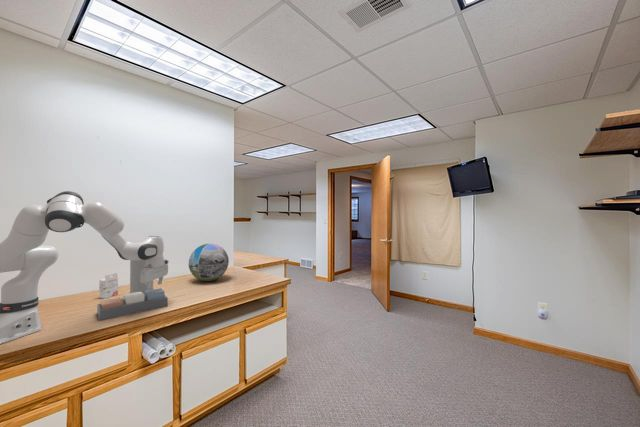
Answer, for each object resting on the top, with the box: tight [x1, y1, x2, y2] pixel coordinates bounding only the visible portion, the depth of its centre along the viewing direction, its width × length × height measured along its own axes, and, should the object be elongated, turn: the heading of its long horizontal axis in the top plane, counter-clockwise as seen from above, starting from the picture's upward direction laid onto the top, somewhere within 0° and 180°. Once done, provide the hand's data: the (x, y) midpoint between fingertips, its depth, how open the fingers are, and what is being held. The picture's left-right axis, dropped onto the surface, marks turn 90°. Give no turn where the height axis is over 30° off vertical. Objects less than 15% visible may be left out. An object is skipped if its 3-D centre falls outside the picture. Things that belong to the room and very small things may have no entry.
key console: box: [96, 294, 169, 321], centre depth 149 cm, size 31×13×5 cm, turn 134°
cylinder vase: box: [129, 260, 154, 296], centre depth 171 cm, size 12×12×25 cm
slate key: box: [145, 287, 165, 301], centre depth 156 cm, size 8×8×4 cm
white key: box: [123, 292, 144, 305], centre depth 149 cm, size 8×8×4 cm
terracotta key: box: [100, 297, 123, 309], centre depth 142 cm, size 8×8×4 cm
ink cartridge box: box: [98, 272, 119, 300], centre depth 171 cm, size 9×5×15 cm, turn 168°
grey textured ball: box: [188, 243, 230, 282], centre depth 213 cm, size 30×30×30 cm
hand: (154, 286), depth 155 cm, fingers open, 8 cm apart
